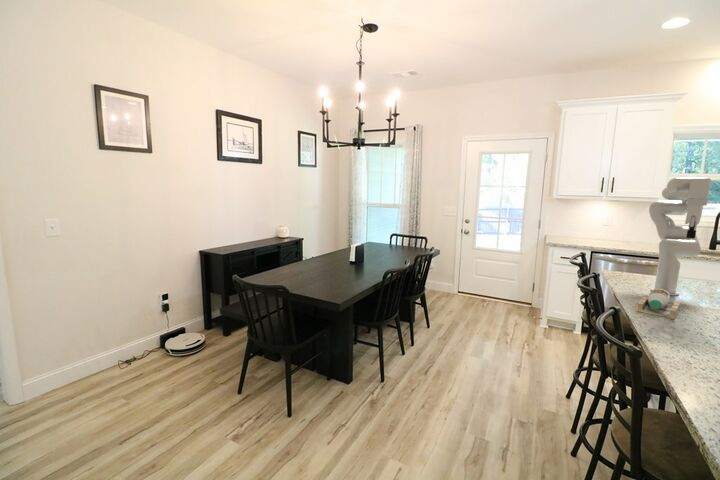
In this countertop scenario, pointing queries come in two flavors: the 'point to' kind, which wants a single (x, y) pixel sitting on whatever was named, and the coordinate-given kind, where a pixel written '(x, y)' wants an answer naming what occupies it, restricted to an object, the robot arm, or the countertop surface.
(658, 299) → the milk bottle
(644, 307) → the cradle
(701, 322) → the countertop surface
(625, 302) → the countertop surface
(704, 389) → the countertop surface
